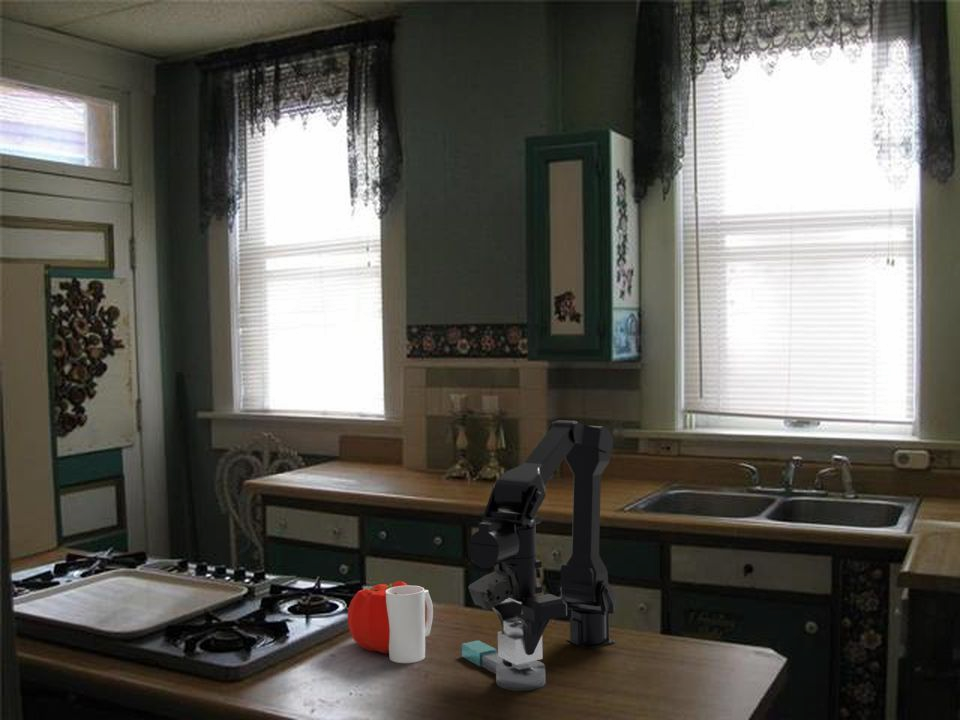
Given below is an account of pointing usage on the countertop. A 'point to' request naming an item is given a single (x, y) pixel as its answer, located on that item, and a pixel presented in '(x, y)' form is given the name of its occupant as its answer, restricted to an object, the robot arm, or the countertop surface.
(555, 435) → the robot arm
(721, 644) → the countertop surface
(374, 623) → the tomato
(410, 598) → the mug
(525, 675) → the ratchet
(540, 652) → the cylinder with square end
